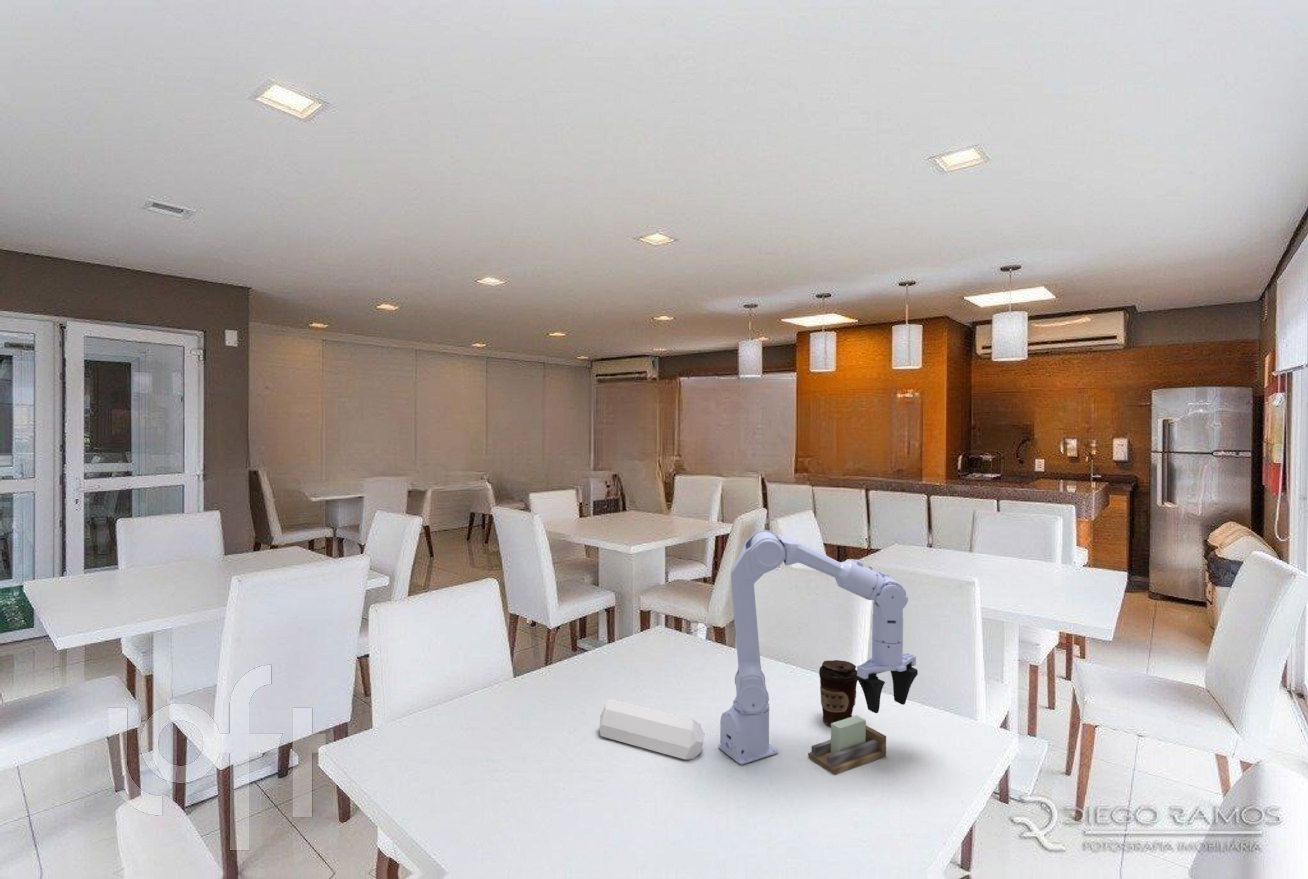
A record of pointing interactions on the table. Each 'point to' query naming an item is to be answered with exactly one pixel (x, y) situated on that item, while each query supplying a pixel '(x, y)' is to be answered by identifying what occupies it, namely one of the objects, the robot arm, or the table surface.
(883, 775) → the table surface
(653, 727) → the crystal
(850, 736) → the door panel
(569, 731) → the table surface
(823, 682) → the coffee cup
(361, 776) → the table surface
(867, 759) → the track sill
